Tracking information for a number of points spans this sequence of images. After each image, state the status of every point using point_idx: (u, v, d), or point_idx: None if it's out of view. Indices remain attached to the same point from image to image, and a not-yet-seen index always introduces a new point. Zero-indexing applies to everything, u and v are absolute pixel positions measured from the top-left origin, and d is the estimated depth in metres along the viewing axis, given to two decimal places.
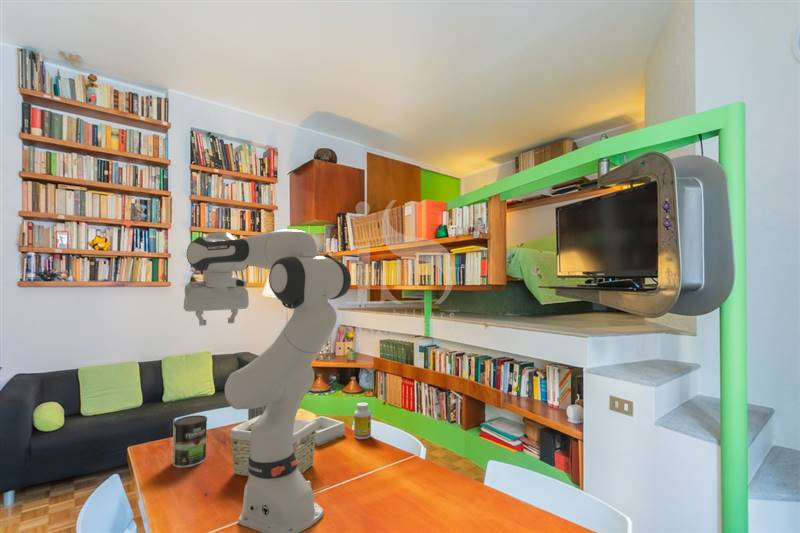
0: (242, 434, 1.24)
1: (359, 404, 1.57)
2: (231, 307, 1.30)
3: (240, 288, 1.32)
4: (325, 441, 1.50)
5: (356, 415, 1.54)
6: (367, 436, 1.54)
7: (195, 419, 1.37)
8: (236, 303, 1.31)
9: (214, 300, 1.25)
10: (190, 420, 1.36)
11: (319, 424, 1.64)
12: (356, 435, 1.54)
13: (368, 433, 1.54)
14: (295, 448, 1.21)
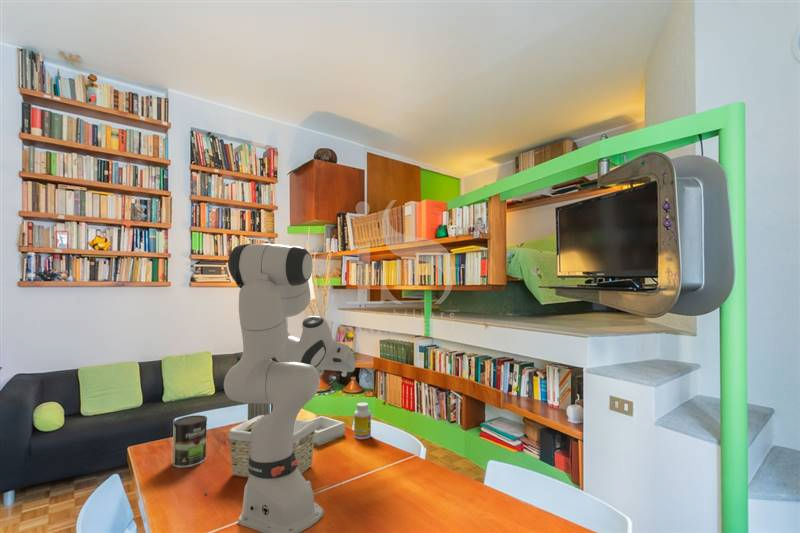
0: (240, 434, 1.23)
1: (359, 404, 1.57)
2: (338, 370, 1.44)
3: (340, 362, 1.39)
4: (325, 441, 1.50)
5: (356, 415, 1.54)
6: (367, 436, 1.54)
7: (195, 419, 1.37)
8: (341, 368, 1.43)
9: (321, 364, 1.44)
10: (190, 420, 1.36)
11: (319, 424, 1.64)
12: (356, 435, 1.54)
13: (368, 433, 1.54)
14: (294, 449, 1.21)
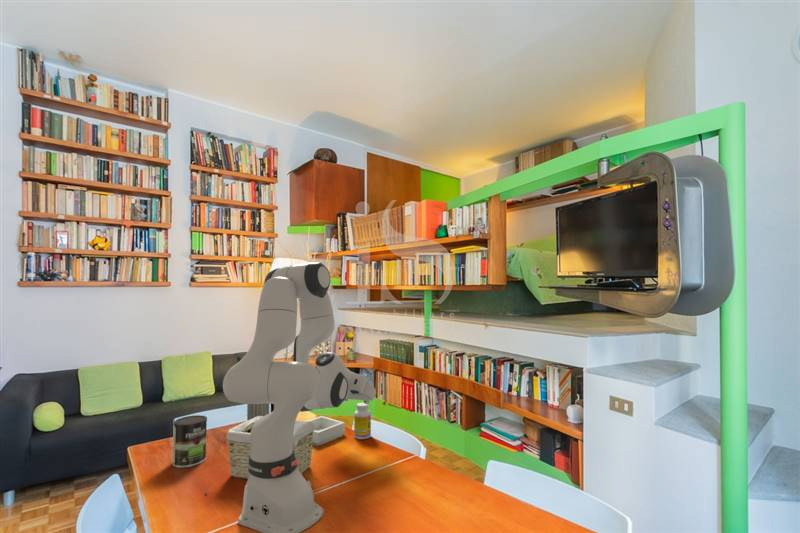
0: (239, 435, 1.23)
1: (359, 404, 1.57)
2: (359, 399, 1.46)
3: None
4: (325, 441, 1.50)
5: (356, 415, 1.54)
6: (367, 436, 1.54)
7: (195, 419, 1.37)
8: (361, 397, 1.45)
9: None
10: (190, 420, 1.36)
11: (319, 424, 1.64)
12: (356, 435, 1.54)
13: (368, 433, 1.54)
14: (293, 449, 1.20)
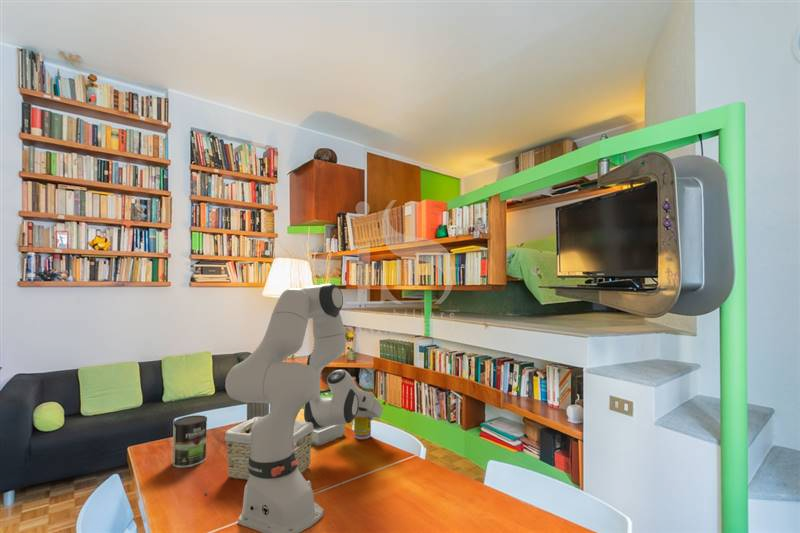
0: (237, 436, 1.22)
1: None
2: None
3: None
4: (325, 441, 1.50)
5: (356, 415, 1.54)
6: (367, 436, 1.54)
7: (195, 419, 1.37)
8: (368, 414, 1.50)
9: None
10: (190, 420, 1.36)
11: None
12: (356, 435, 1.54)
13: (368, 433, 1.54)
14: None
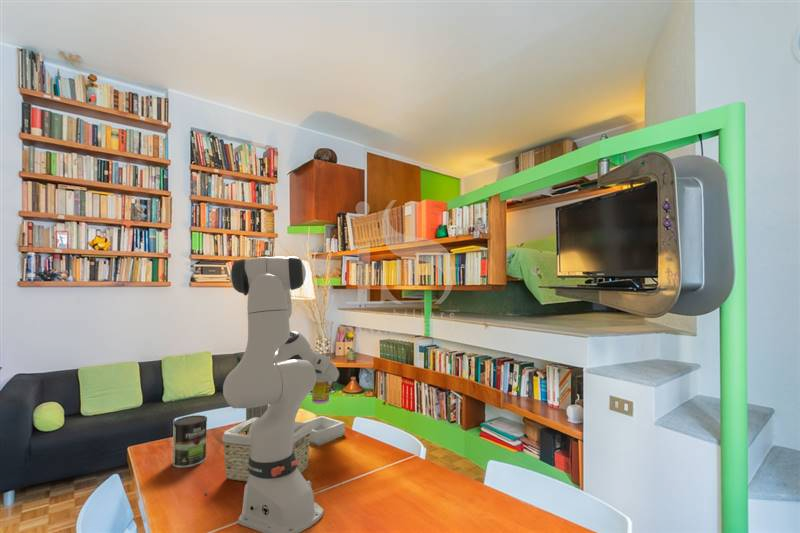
0: (235, 437, 1.21)
1: None
2: (322, 379, 1.53)
3: (321, 372, 1.47)
4: (325, 441, 1.50)
5: None
6: (324, 401, 1.55)
7: (195, 419, 1.37)
8: (325, 378, 1.51)
9: None
10: (190, 420, 1.36)
11: (319, 424, 1.64)
12: (314, 400, 1.55)
13: (326, 398, 1.56)
14: None
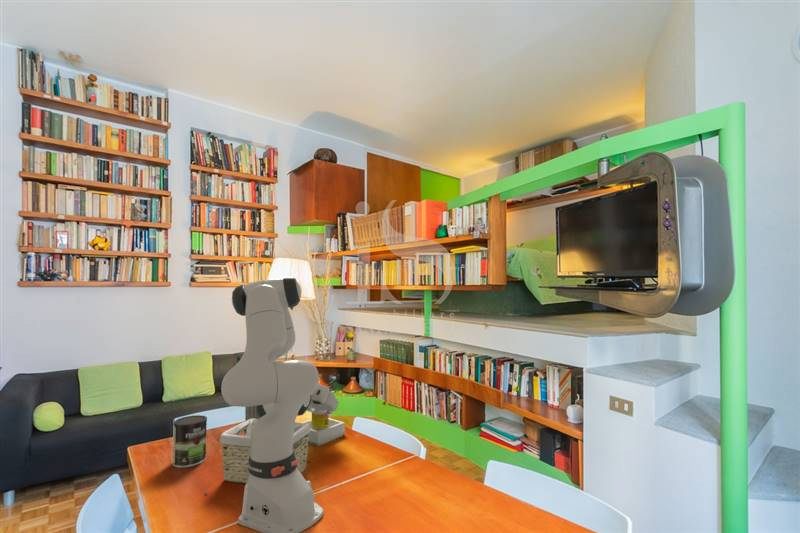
0: (233, 438, 1.20)
1: None
2: (322, 409, 1.52)
3: (320, 403, 1.47)
4: (325, 441, 1.50)
5: (313, 412, 1.55)
6: None
7: (195, 419, 1.37)
8: (324, 408, 1.51)
9: None
10: (190, 420, 1.36)
11: None
12: None
13: None
14: None
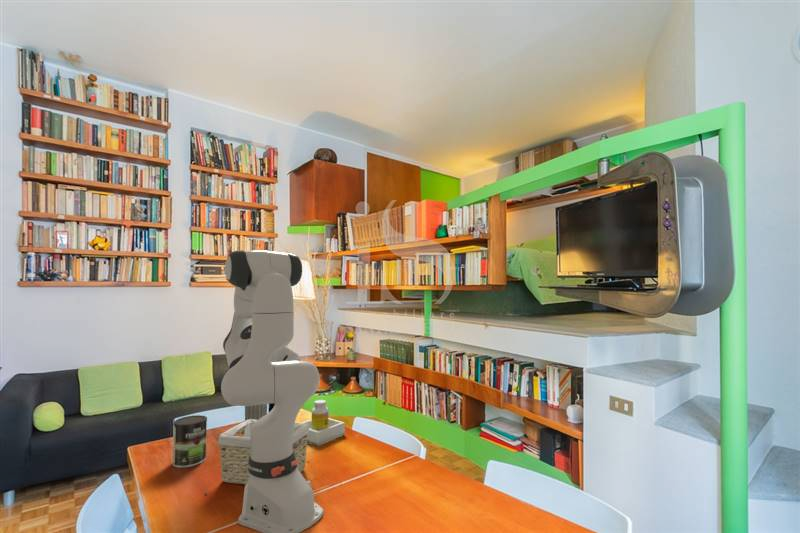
0: (231, 439, 1.19)
1: (317, 401, 1.57)
2: None
3: None
4: (325, 441, 1.50)
5: (313, 412, 1.55)
6: None
7: (195, 419, 1.37)
8: None
9: None
10: (190, 420, 1.36)
11: None
12: None
13: None
14: None
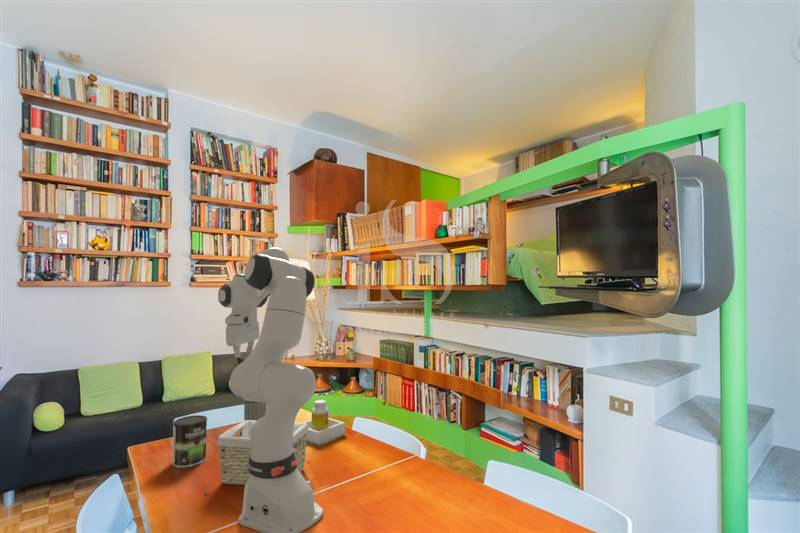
0: (232, 440, 1.19)
1: (317, 401, 1.57)
2: None
3: None
4: (325, 441, 1.50)
5: (313, 412, 1.55)
6: None
7: (195, 419, 1.37)
8: None
9: None
10: (190, 420, 1.36)
11: None
12: None
13: None
14: None
